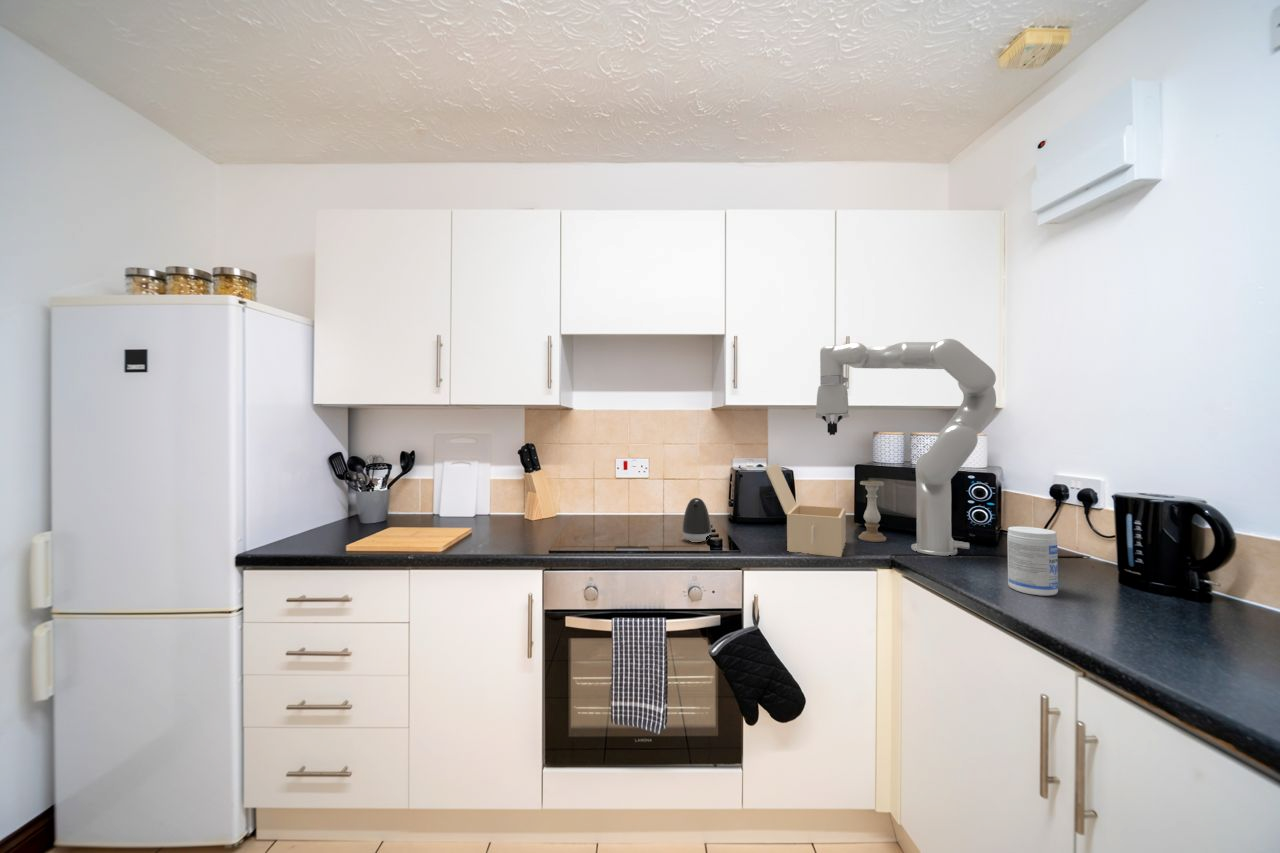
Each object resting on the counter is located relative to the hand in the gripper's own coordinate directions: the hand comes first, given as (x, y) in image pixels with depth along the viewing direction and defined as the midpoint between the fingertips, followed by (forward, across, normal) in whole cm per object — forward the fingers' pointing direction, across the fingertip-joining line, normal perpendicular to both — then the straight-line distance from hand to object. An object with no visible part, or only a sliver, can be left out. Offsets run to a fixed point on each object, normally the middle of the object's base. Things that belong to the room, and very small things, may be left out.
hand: (832, 434), depth 170 cm
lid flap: (+18, +15, +10) cm, 25 cm away
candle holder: (+37, -12, -10) cm, 40 cm away
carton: (+37, +4, +12) cm, 39 cm away
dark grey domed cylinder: (+37, +43, +19) cm, 60 cm away
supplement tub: (+37, -48, +33) cm, 69 cm away
